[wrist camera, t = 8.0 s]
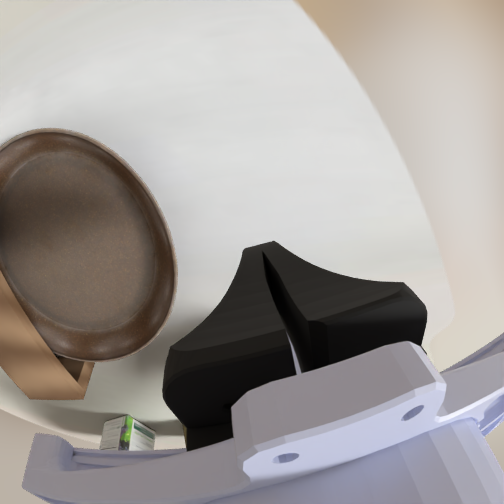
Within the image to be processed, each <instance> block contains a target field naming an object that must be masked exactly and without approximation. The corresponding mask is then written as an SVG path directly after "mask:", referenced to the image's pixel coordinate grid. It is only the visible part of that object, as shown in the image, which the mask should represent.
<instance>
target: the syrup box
mask: <svg viewBox="0 0 504 504" xmlns="http://www.w3.org/2000/svg"><path fill="white" fill-rule="evenodd" d="M154 442H155V431H154V430H151V429H149V428H148V427H146V426H144V425H143V424H141V423H139V422H138V421H136V420H135V419H133V418H132V417H131V416H129V415H126V416H123V417H119V418H116V419H113V420H109V421H106V422H105V423H104V428H103V433H102V438H101V443H100V448H99V450H126V451H139V450H154Z"/></svg>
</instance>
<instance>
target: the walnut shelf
mask: <svg viewBox="0 0 504 504" xmlns="http://www.w3.org/2000/svg"><path fill="white" fill-rule="evenodd" d="M94 364H95V363H94V362H86V361H79V360H74V359H70V358H66V357H60V358H56V356H55V355H54V354H53V352H52V351H51V350H50V348H49V347H48V346H47V344H46V343H45V342H44V340H43V339H42V337H41V336H40V335H39V333H38V332H37V330H36V329H35V327H34V326H33V325H32V323H31V322H30V320H29V319H28V317H27V315H26V314H25V312H24V311H23V309H22V308H21V306H20V304H19V303H18V301H17V299H16V298H15V296H14V294H13V293H12V291H11V289H10V287H9V286H8V284H7V282H6V280H5V278H4V276H3V274H2V273H1V271H0V366H1V367H2V369H3V370H4V371H5V372H6V373H7V375H8V376H9V377H10V378H11V379H12V380H13V381H14V383H15V384H16V385H17V386H18V387H19V388H20V389H21V390H22V391H23V392H24V393H25V394H26V396H27V397H28V398H29V399H39V400H80V399H84V396H85V392H86V389H87V386H88V383H89V380H90V376H91V373H92V370H93V367H94Z"/></svg>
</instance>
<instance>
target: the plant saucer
mask: <svg viewBox="0 0 504 504" xmlns="http://www.w3.org/2000/svg"><path fill="white" fill-rule="evenodd" d="M0 271H1V273H2V274H3V276H4V278H5V280H6V282H7V284H8V286H9V287H10V289H11V291H12V293H13V294H14V296H15V298H16V299H17V301H18V303H19V304H20V306H21V308H22V309H23V311H24V312H25V314H26V315H27V317H28V319H29V320H30V322H31V323H32V325H33V326H34V327H35V329H36V330H37V332H38V333H39V335H40V336H41V337H42V339H43V340H44V342H45V343H46V344H47V346H48V347H49V348H50V350H51V351H52V352H53V353H55V354H58V355H60V356H63V357H66V358H70V359H74V360H79V361H86V362H108V361H115V360H119V359H122V358H126V357H128V356H131V355H133V354H135V353H137V352H139V351H140V350H142V349H143V348H145V347H146V346H147V345H149V344H150V343H151V342H152V341H153V340H154V339H155V338H156V337H157V336H158V335H159V333H160V332H161V331H162V329H163V328H164V326H165V325H166V323H167V321H168V319H169V316H170V314H171V312H172V309H173V306H174V301H175V297H176V292H177V283H178V269H177V259H176V253H175V248H174V243H173V239H172V236H171V233H170V230H169V227H168V224H167V222H166V219H165V217H164V215H163V213H162V211H161V209H160V207H159V205H158V203H157V201H156V199H155V198H154V196H153V194H152V193H151V191H150V190H149V188H148V187H147V185H146V184H145V183H144V181H143V180H142V179H141V177H140V176H139V175H138V174H137V173H136V172H135V170H134V169H133V168H132V167H131V166H130V165H129V164H128V163H127V162H126V161H125V160H124V159H123V158H121V157H120V156H119V155H118V154H117V153H115V152H114V151H113V150H111V149H110V148H108V147H107V146H106V145H104V144H102V143H101V142H99V141H97V140H95V139H93V138H91V137H89V136H87V135H84V134H82V133H79V132H75V131H72V130H66V129H59V128H43V129H35V130H31V131H28V132H25V133H22V134H20V135H17V136H15V137H14V138H12V139H10V140H9V141H7V142H6V143H4V144H3V145H2V146H1V147H0Z"/></svg>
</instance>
